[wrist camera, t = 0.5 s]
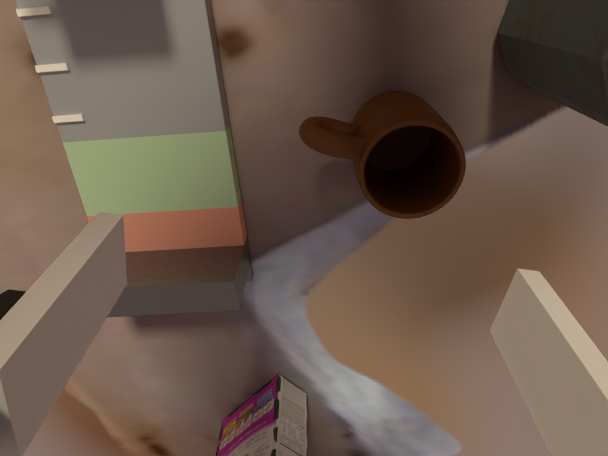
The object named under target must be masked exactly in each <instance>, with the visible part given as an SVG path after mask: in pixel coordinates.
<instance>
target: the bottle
mask: <svg viewBox="0 0 608 456" xmlns="http://www.w3.org/2000/svg"><path fill="white" fill-rule="evenodd" d="M498 36H499V40H500V44H501V48H502V52H503V57H504V61H505V65H506V69H507V72H508V73H509V74H511V75H512V76H514V77H515V78H517V79H519V80H520V81H522V82H523V83H525V84H526V85H528V86H529V87H531V88H532V89H534V90H535V91H537V92H538V93H540V94H543V95H545V96H547V97H549V98H551V99H553V100H555V101H557V102H559V103H561V104H563V105H565V106H567V107H569V108H571V109H573V110H575V111H577V112H580V113H581V114H584V115H586V116H588V117H590V118H592V119H594V120H596V121H598V122H600V123H602V124H604V125H606V126H608V0H509V3H508V6H507V9H506V11H505V14H504V17H503V20H502V22H501V25H500V28H499V30H498Z"/></svg>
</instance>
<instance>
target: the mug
mask: <svg viewBox="0 0 608 456" xmlns="http://www.w3.org/2000/svg"><path fill="white" fill-rule="evenodd" d="M299 133H300V137H301V139H302V141H303V142H304V143H305V144H306V145H307V146H309V147H310V148H312V149H314V150H316V151H318V152H321V153H324V154H327V155H330V156H334V157H340V158H347V159H352V160H353V163H354V167H355V172H356V176H357V180H358V182H359V185H360V187H361V189H362V191H363V194H364V195H365V197H366V199H367V200H368V201H369V202H370V204H372V205H373V206H374V207H375V208H376V209H378V210H379V211H380V212H382V213H384V214H387V215H389V216H392V217H397V218H418V217H422V216H426V215H428V214H431V213H433V212H435V211H437V210H438V209H440V208H442V207H443V206H444V205H445V204H446V203H448V202H449V201H450V199H452V198H453V196H454V195H455V194H456V192H457V191H458V189H459V187H460V185H461V183H462V181H463V177H464V174H465V167H466V160H465V154H464V150H463V147H462V145H461V143H460V141H459V140H458V138H457V136H456V134H455V133H454V131H453V130H452V128H451V127H450V126H449V125H448V124H447V123H446V122H445V121H444V120H443V119H442V117H441V116H440V115H439V114H438V113H437V112H436V111H435V110H434V109H433V108H432V107H431V106H430V105H429V104H428V103H427V102H425V101H424V100H423V99H421V98H420V97H418V96H416V95H414V94H411V93H408V92H401V91H392V92H386V93H383V94H380V95H378V96H376V97H374V98H372V99H371V100H369V101H368V102H367V103H366V104H365V105H364V106H363V107H362V108H361V109H360V110H359V111H358V113H357V115H356V116H355V118H354V120H353V123H347V122H342V121H339V120H335V119H331V118H326V117H311V118H308V119H306V120H305V121H303V123H302V124H301V126H300V129H299Z"/></svg>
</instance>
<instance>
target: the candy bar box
mask: <svg viewBox="0 0 608 456" xmlns="http://www.w3.org/2000/svg"><path fill="white" fill-rule="evenodd" d="M216 456H307V393H306V392H305V391H303V390H302V389H301V388H299V387H297V386H296V385H294V384H292V383H291V382H290V381H288V380H287V379H285V378H284V377H282V376H281V375H277V376H276V377H275V378H273V379H272V380H271V381H270V382H269V383H267V384H266V385H265V386H264V387H263V388H261V389H260V390H259V391H258V392H257V393H255V394H254V395H253V396H252V397H251V398H250V399H248V400H247V401H246V402H245V403H243V404H242V405H241V406H240V407H239V408H237V409H236V410H235V411H234V412H232V413H231V414H230V415H229V416H227V417H226V418H225V419H224V420H223V421H222V426H221V431H220V436H219V442H218V446H217V452H216Z"/></svg>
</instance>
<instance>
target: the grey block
mask: <svg viewBox="0 0 608 456" xmlns="http://www.w3.org/2000/svg"><path fill="white" fill-rule="evenodd" d="M125 256H126V275H127V285H126V287H125V288H124V290H123V292H122V293H121V295H120V296H119V298H118V300H117V301H116V303H115V305H114V306H113V308H112V310H111V311H110V313H109V315H108V316H107V317H121V316H141V315H162V314H182V313H203V312H223V311H239V310H240V306H241V301H242V297H243V293H244V288H245V284H246V281H247V280H252V279H253V271H252V265H251V258H250V252H249V246H248V239H247V236H246V240H245V244H244V245H241V246H223V247H206V248H188V249H170V250H153V251H135V252H125Z"/></svg>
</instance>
